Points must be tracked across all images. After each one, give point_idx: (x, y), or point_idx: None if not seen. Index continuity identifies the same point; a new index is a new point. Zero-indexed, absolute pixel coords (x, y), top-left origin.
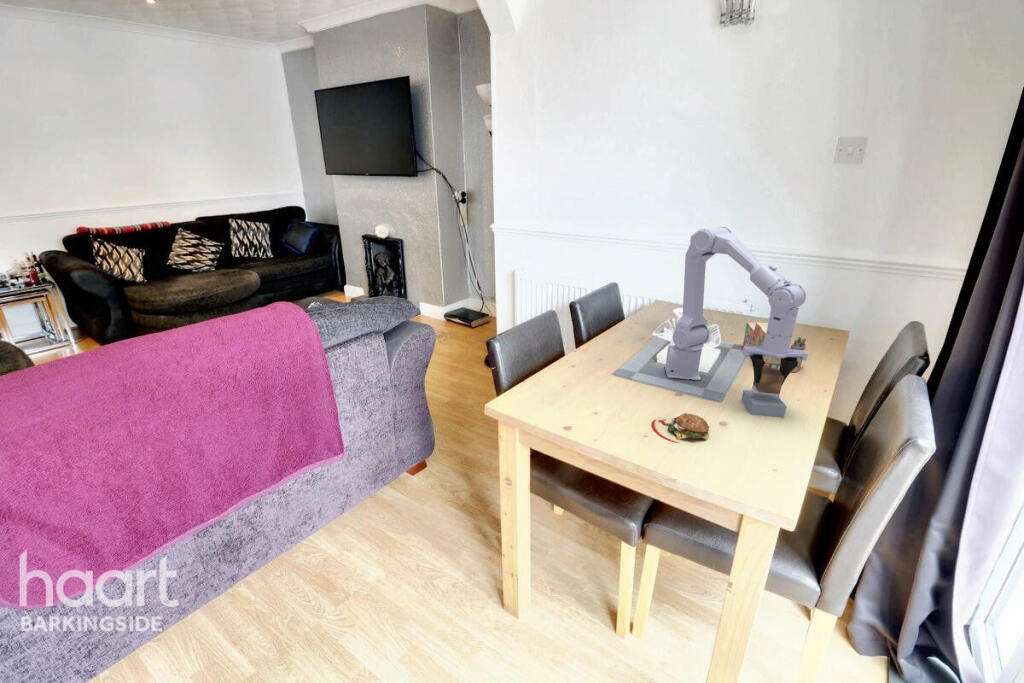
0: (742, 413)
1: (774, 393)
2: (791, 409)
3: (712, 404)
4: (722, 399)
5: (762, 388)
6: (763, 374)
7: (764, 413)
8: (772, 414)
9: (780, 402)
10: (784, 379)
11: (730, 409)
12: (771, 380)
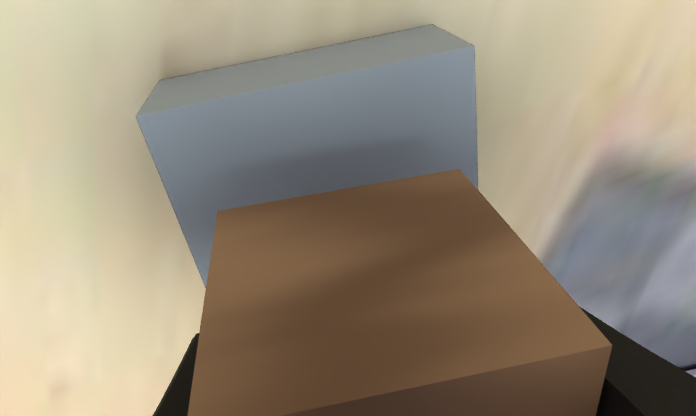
0: (497, 24)
1: (280, 202)
2: (99, 244)
3: (676, 102)
4: (573, 208)
5: (447, 201)
6: (599, 350)
7: (329, 51)
8: (259, 64)
9: (195, 183)
10: (168, 408)
11: (571, 65)
12: (392, 302)
